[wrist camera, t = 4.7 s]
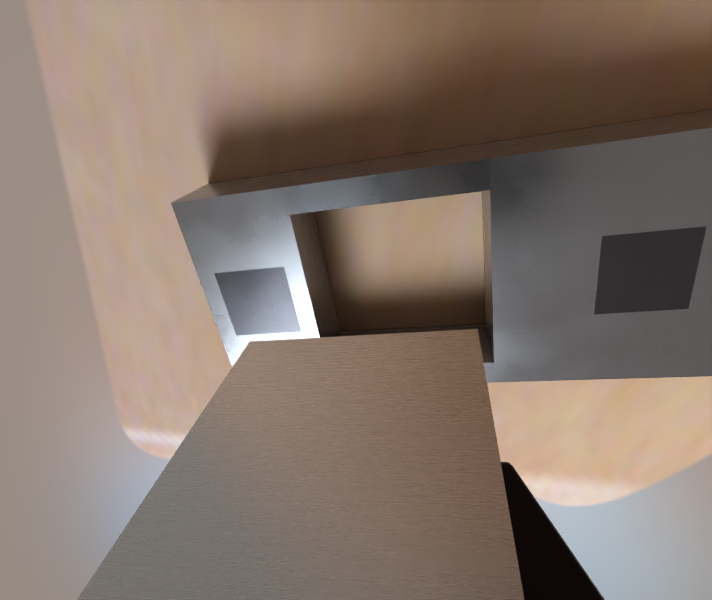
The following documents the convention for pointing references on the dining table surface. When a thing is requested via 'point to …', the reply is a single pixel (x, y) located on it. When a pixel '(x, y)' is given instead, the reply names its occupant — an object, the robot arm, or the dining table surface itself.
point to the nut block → (330, 482)
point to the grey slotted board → (497, 248)
